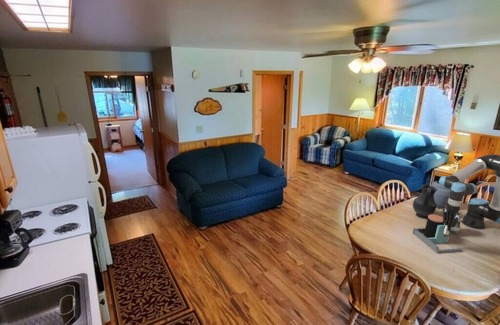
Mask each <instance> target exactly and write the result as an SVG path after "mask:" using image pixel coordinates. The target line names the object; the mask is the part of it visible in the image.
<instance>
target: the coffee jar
mask: <svg viewBox="0 0 500 325" xmlns="http://www.w3.org/2000/svg"><path fill="white" fill-rule="evenodd" d="M425 223H426V224H425V227H424V228H425V231H424V234H423V235H424V236H425V237H427V238H435V234H436V230H437V227H438V225H444V223H443V216H440V215H437V214H434V213H433V214H431V215H428V218H427V219H426V222H425Z"/></svg>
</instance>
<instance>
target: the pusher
mask: <svg viewBox="0 0 500 325" xmlns="http://www.w3.org/2000/svg"><path fill="white" fill-rule="evenodd" d="M444 227H445V225H438V227H437V230H436V234H435V238H428V239H429V240H430V241H432V242H433V243H434V244H442V243H443V244H444V243H448V242H449V239H450V237H449V236H444V235H445V234H444V229H445V228H444Z"/></svg>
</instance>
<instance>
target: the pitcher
mask: <svg viewBox="0 0 500 325" xmlns="http://www.w3.org/2000/svg"><path fill="white" fill-rule="evenodd" d="M431 185H432V184H422V185H421V186H420V187H421V189H422V190H421V193H420V194H419V195H418V196H417V197H416V198H414V200H413V201H412V202H413V203H412V208H413V210H414V212H415V216H416V217H417V218H419V219H425V220H427V219H428V215H431V214H433V215H434V213H435V211H437V208H436V207H437V204H436V203H435V201H434V193H435V192H436V191H437V190H438V189H437V188H436V187H435V186H431Z"/></svg>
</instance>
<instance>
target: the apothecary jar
mask: <svg viewBox="0 0 500 325" xmlns="http://www.w3.org/2000/svg"><path fill="white" fill-rule="evenodd" d="M462 215H463V214H462V213H461V212H460V211H458V217H460V219H459V220H458V222H457V223H456V225H455V227H451V230H450V231H449V234H448V236H451V237H457V236H458V232H460V231H461V230H462V227H461V223H462V221H463V217H464V216H462ZM444 225H445V223H444Z"/></svg>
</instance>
